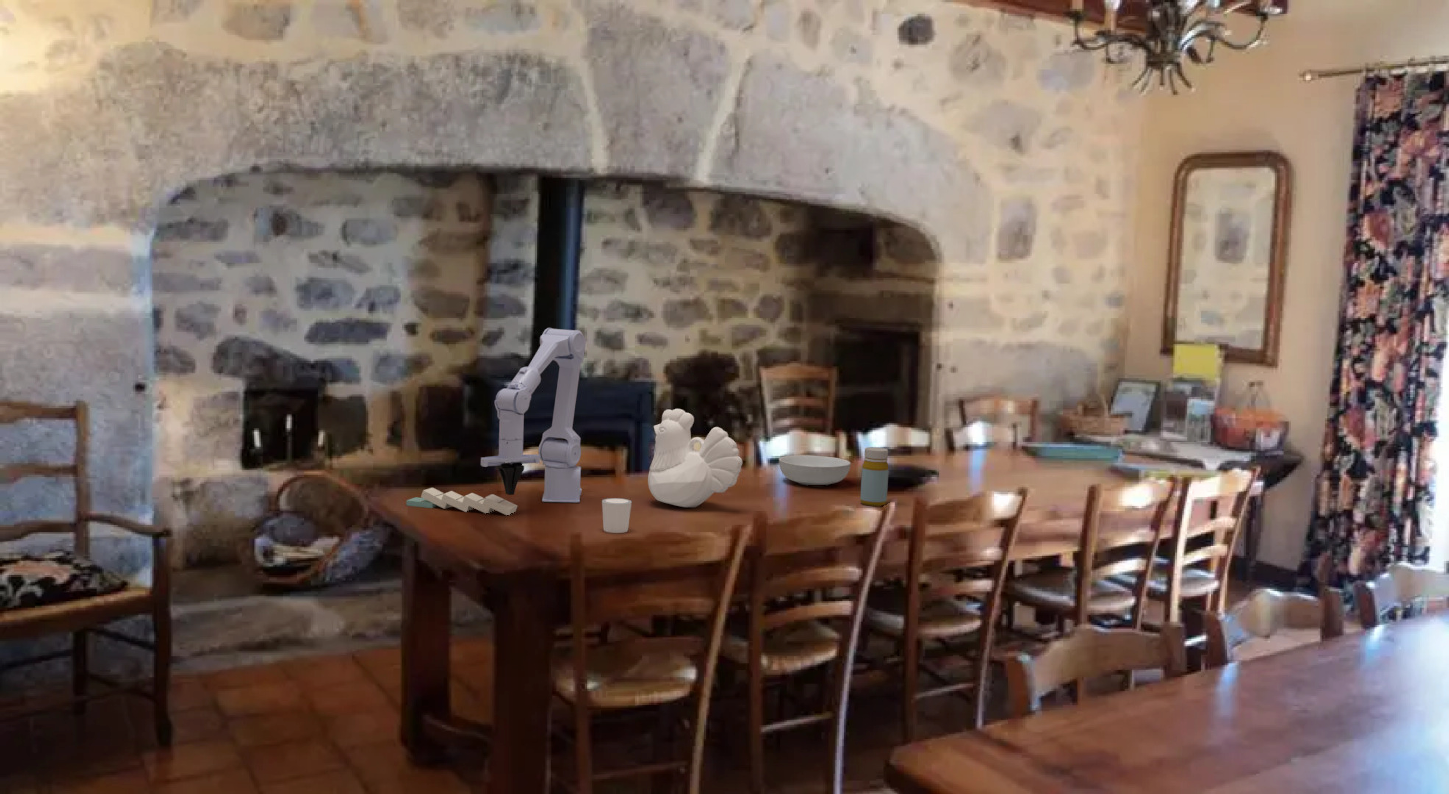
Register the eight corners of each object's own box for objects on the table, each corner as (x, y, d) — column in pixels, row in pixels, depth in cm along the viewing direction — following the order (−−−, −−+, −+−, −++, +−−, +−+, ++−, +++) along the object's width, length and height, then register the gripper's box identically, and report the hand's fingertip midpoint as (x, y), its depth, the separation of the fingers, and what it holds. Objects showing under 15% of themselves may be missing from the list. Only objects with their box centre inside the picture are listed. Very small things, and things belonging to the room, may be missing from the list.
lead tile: (517, 505, 290) (492, 493, 292) (510, 509, 286) (485, 497, 287) (515, 512, 291) (490, 500, 292) (508, 515, 287) (482, 504, 288)
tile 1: (441, 499, 295) (415, 497, 297) (432, 502, 291) (406, 500, 293) (440, 507, 296) (415, 504, 297) (432, 510, 291) (406, 507, 293)
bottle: (888, 503, 323) (892, 448, 321) (883, 507, 316) (886, 452, 315) (863, 500, 325) (866, 446, 324) (857, 504, 319) (860, 449, 317)
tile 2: (456, 499, 294) (432, 487, 296) (446, 502, 290) (423, 490, 292) (453, 506, 295) (430, 494, 296) (444, 509, 291) (420, 496, 292)
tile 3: (476, 501, 293) (451, 490, 294) (468, 505, 288) (443, 493, 289) (473, 508, 293) (448, 497, 294) (466, 512, 289) (441, 500, 290)
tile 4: (497, 503, 291) (472, 492, 293) (490, 507, 287) (464, 495, 288) (494, 510, 292) (469, 499, 293) (487, 514, 288) (462, 502, 289)
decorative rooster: (634, 503, 307) (637, 408, 304) (672, 495, 320) (676, 403, 317) (711, 520, 292) (716, 419, 289) (748, 510, 305) (753, 414, 302)
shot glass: (601, 526, 280) (602, 497, 279) (630, 527, 281) (631, 498, 280) (600, 533, 273) (601, 503, 272) (630, 534, 274) (631, 504, 273)
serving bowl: (861, 483, 350) (862, 460, 350) (828, 493, 333) (829, 469, 332) (799, 474, 361) (800, 451, 361) (764, 483, 344) (765, 459, 343)
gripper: (531, 434, 294) (530, 488, 295) (476, 437, 286) (475, 493, 287) (544, 439, 288) (542, 494, 290) (488, 442, 280) (486, 498, 281)
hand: (509, 494), depth 288 cm, fingers closed
